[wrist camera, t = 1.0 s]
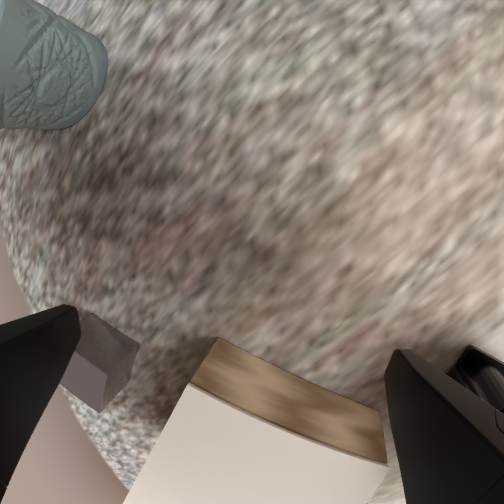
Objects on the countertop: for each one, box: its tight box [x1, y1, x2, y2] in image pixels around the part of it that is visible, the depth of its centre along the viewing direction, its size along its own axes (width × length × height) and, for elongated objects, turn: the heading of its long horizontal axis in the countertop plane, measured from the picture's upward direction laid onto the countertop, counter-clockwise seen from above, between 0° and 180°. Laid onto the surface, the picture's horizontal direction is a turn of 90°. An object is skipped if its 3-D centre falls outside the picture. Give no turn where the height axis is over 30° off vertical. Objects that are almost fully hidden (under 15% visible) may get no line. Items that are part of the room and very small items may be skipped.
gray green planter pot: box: [0, 0, 108, 130], centre depth 15 cm, size 10×10×12 cm
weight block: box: [60, 313, 140, 413], centre depth 23 cm, size 5×5×5 cm
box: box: [189, 337, 387, 464], centre depth 21 cm, size 14×12×6 cm
